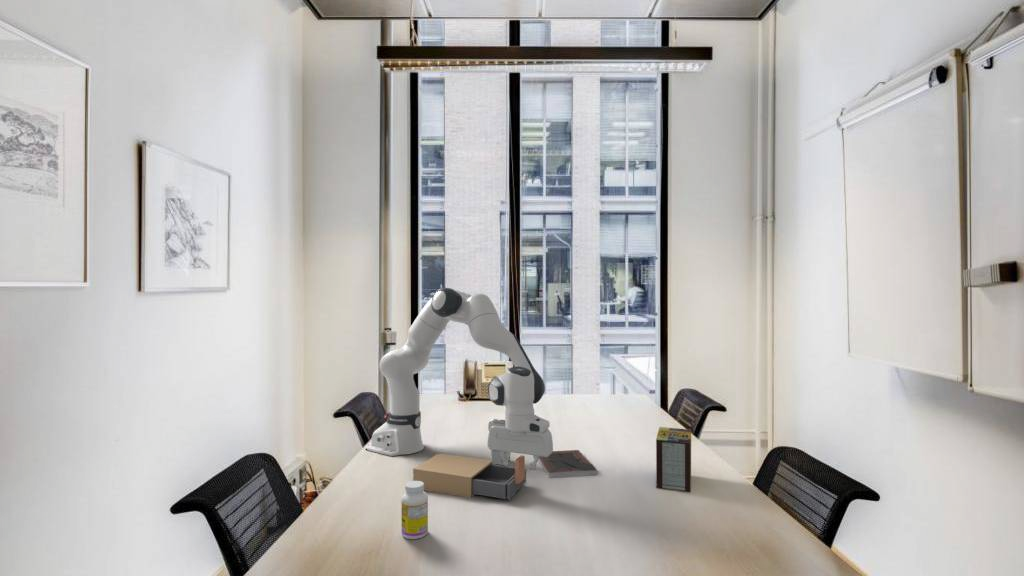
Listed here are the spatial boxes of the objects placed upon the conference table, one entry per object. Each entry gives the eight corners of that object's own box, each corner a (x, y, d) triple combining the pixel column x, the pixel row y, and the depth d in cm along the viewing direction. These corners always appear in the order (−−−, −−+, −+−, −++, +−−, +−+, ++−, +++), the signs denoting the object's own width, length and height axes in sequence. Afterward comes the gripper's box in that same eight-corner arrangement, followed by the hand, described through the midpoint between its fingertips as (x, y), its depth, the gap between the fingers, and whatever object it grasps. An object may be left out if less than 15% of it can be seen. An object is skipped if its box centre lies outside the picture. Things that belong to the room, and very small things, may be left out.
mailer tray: (446, 489, 162) (446, 456, 162) (467, 473, 176) (467, 443, 176) (513, 500, 154) (513, 465, 154) (529, 483, 167) (529, 451, 167)
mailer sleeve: (413, 487, 166) (413, 468, 166) (438, 471, 181) (438, 453, 181) (470, 497, 158) (470, 477, 158) (492, 479, 173) (492, 460, 173)
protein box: (691, 475, 177) (691, 429, 177) (690, 492, 162) (691, 442, 162) (658, 471, 180) (658, 426, 180) (655, 488, 166) (655, 438, 166)
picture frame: (596, 476, 178) (578, 455, 199) (596, 469, 178) (578, 449, 199) (548, 479, 175) (535, 458, 196) (548, 472, 175) (535, 451, 196)
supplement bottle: (403, 528, 138) (403, 479, 138) (428, 527, 139) (428, 478, 139) (399, 541, 132) (399, 489, 132) (426, 540, 132) (426, 488, 132)
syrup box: (507, 465, 186) (507, 424, 186) (490, 464, 187) (490, 423, 187) (510, 460, 192) (510, 420, 192) (494, 459, 193) (494, 419, 193)
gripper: (484, 420, 162) (484, 466, 162) (548, 427, 154) (548, 475, 154) (492, 416, 168) (492, 459, 168) (554, 422, 160) (554, 468, 160)
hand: (519, 467), depth 161 cm, fingers open, 7 cm apart
